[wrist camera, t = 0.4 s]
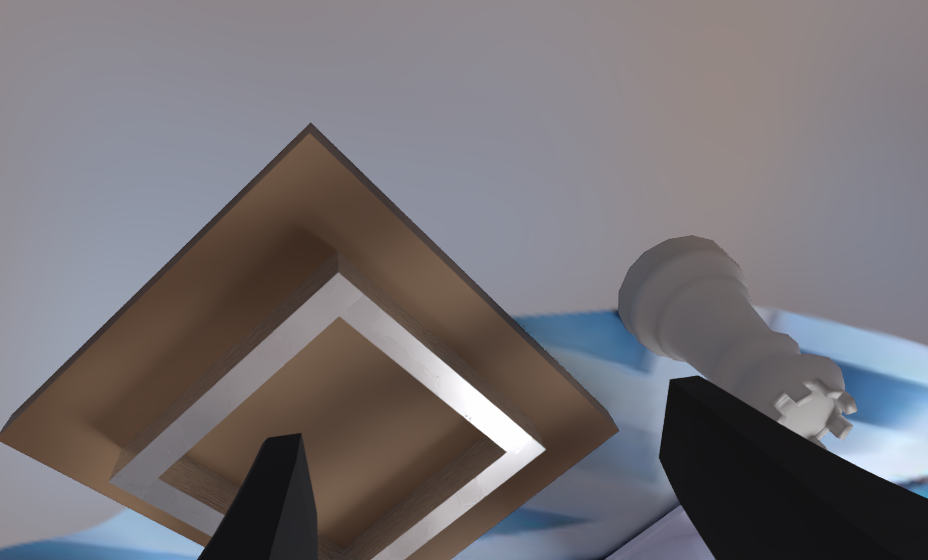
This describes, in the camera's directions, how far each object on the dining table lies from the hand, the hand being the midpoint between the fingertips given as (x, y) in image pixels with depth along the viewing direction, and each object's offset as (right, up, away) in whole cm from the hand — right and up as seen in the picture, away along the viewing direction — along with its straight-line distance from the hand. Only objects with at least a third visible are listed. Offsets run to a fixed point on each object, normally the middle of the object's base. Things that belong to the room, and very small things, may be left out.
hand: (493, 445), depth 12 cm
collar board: (-5, -2, +11) cm, 12 cm away
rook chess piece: (+7, +3, +11) cm, 14 cm away
